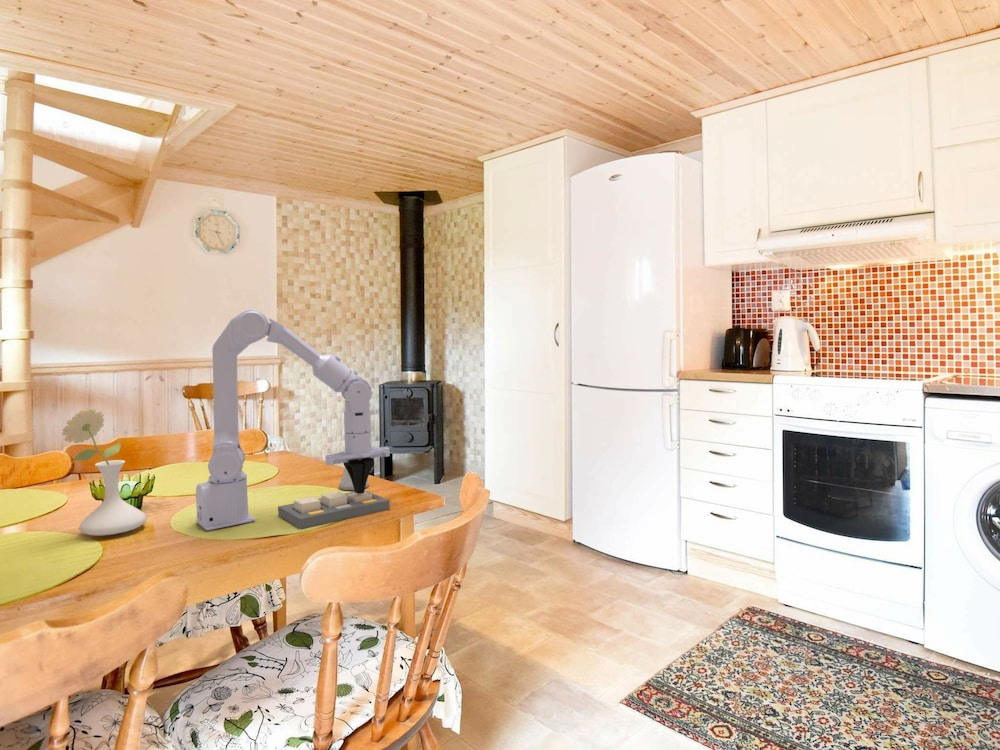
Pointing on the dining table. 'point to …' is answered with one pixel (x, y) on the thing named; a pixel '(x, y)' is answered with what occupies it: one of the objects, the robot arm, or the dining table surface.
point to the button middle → (334, 499)
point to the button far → (359, 497)
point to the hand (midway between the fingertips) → (359, 492)
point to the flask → (347, 481)
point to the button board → (333, 511)
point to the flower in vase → (113, 509)
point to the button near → (307, 505)
